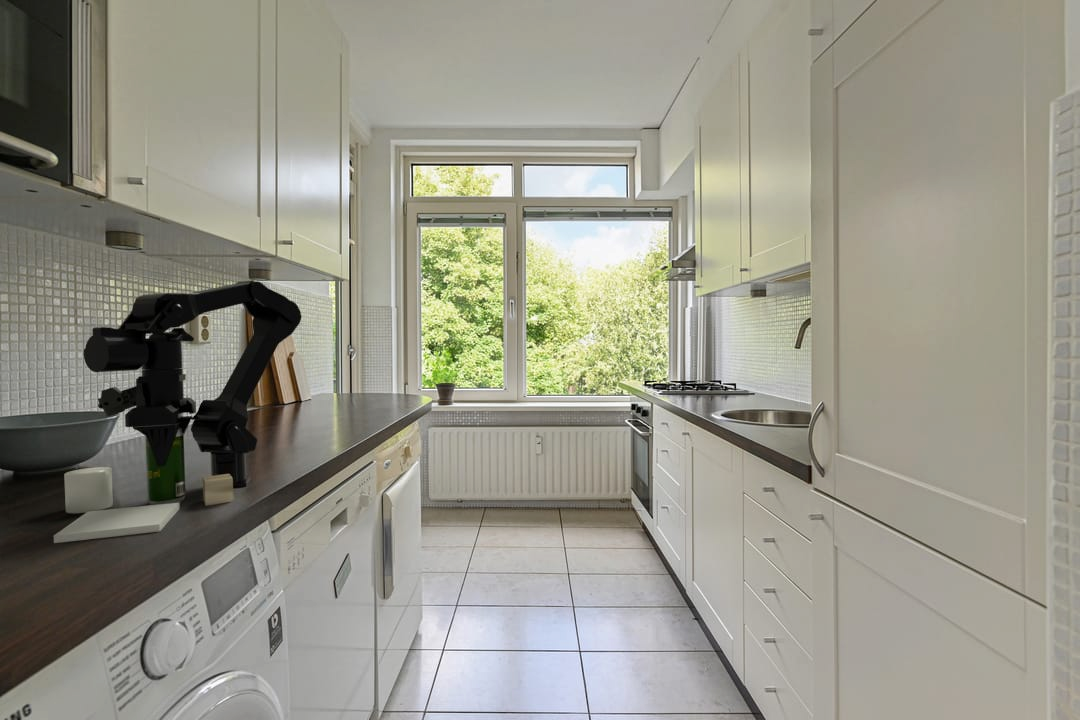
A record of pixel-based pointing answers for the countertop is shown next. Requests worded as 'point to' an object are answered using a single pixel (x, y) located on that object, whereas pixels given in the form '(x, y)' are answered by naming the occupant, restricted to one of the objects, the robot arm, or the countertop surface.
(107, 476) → the rounded cream cube
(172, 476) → the beer can
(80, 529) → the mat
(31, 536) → the countertop surface
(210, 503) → the maple block
